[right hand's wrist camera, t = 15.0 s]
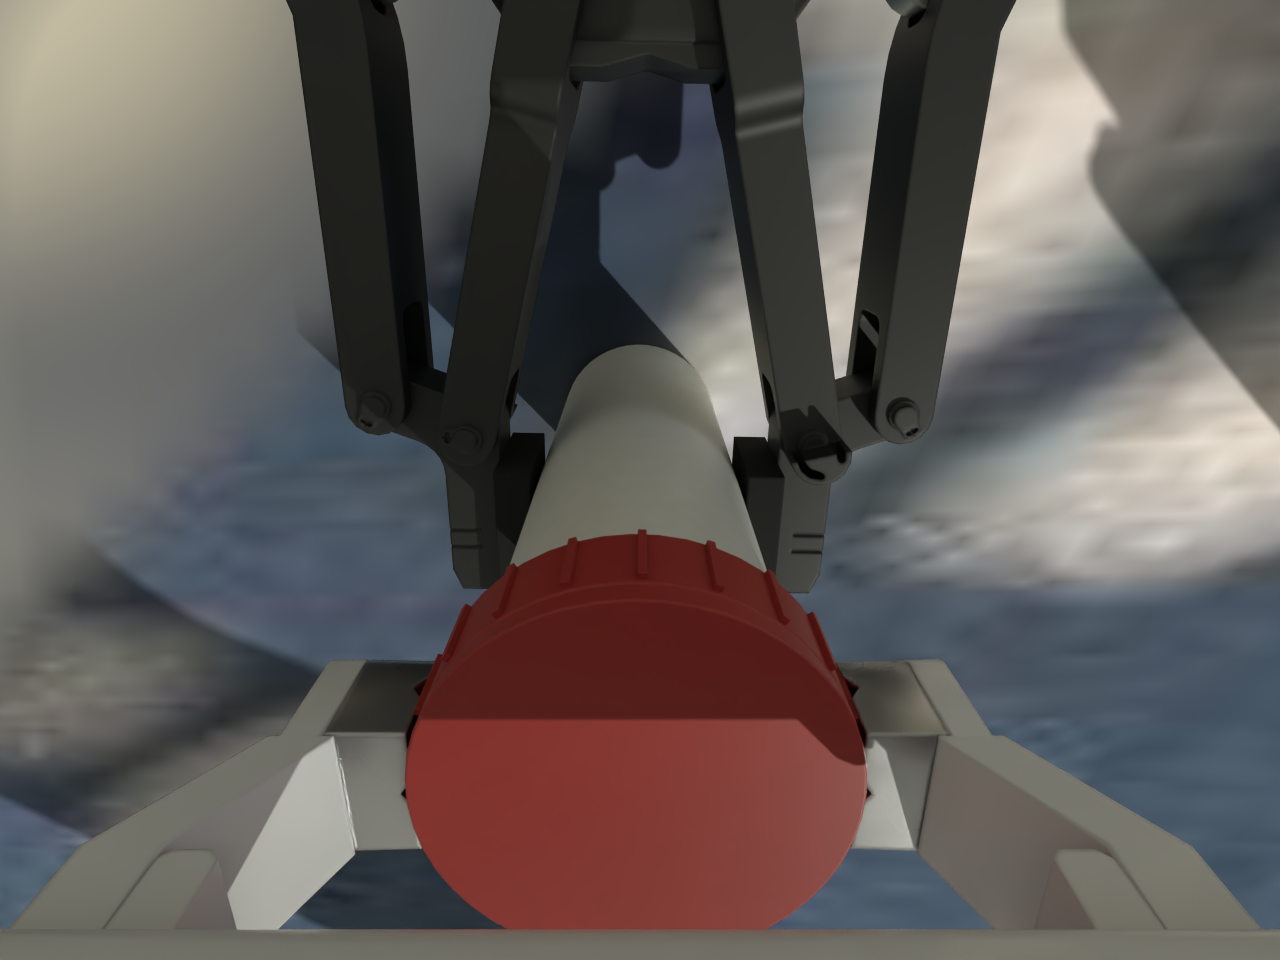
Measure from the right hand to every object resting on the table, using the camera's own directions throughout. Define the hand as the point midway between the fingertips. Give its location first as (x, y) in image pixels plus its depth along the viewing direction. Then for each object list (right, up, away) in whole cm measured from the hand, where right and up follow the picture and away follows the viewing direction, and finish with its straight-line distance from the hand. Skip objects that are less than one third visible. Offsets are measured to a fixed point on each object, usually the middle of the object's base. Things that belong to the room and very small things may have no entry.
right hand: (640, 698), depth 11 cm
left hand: (0, -2, +9) cm, 9 cm away
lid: (0, -1, -1) cm, 2 cm away
